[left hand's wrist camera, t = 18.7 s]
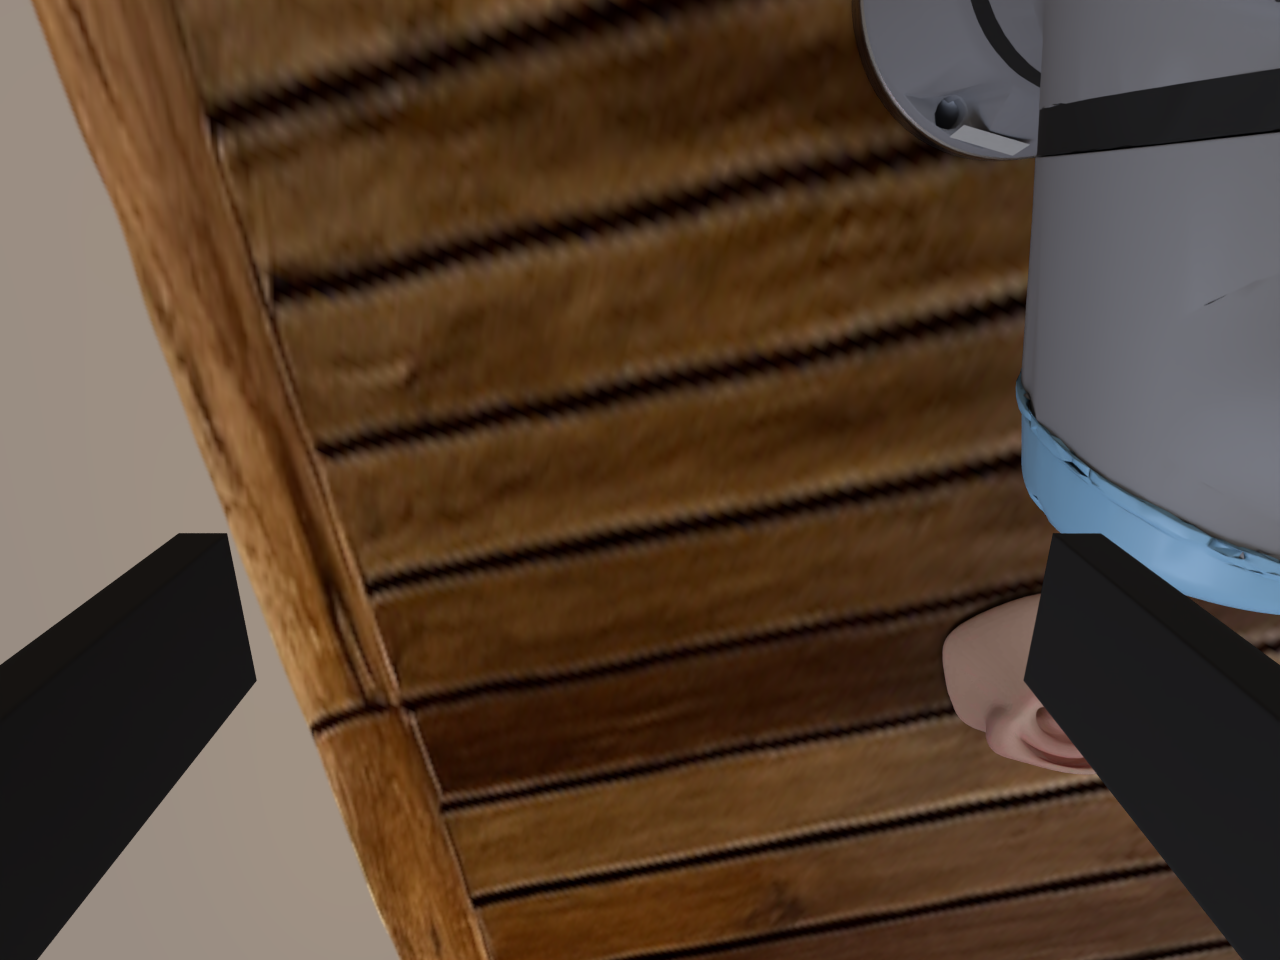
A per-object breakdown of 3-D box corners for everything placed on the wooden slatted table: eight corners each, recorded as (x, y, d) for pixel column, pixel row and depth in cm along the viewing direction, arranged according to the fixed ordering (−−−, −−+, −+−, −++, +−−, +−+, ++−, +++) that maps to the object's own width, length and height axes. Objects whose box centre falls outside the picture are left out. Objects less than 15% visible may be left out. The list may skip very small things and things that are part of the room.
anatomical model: (929, 699, 44) (1107, 578, 42) (907, 659, 48) (1069, 546, 45) (1053, 834, 48) (1225, 730, 45) (1023, 787, 51) (1180, 689, 49)
